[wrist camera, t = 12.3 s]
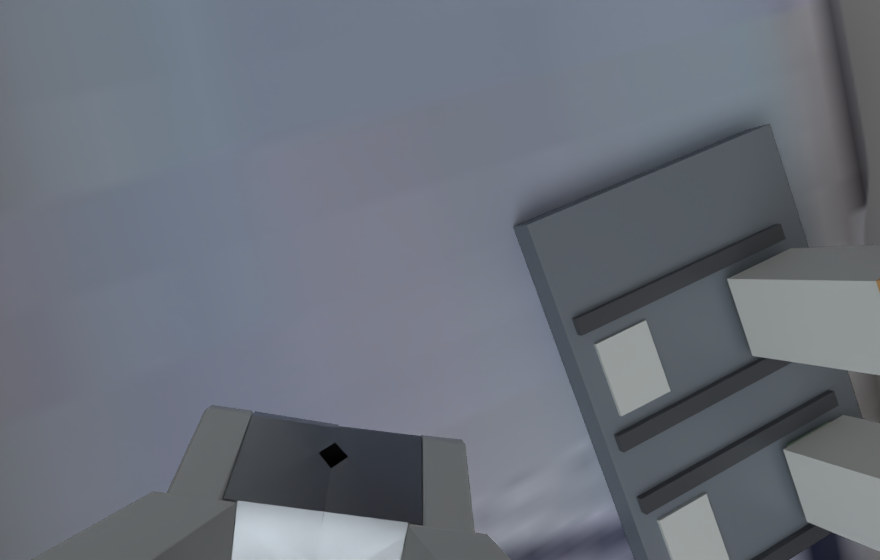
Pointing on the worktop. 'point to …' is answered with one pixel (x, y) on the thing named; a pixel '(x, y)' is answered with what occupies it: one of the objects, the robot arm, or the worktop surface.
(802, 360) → the breaker toggle
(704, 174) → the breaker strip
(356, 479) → the robot arm
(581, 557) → the worktop surface
